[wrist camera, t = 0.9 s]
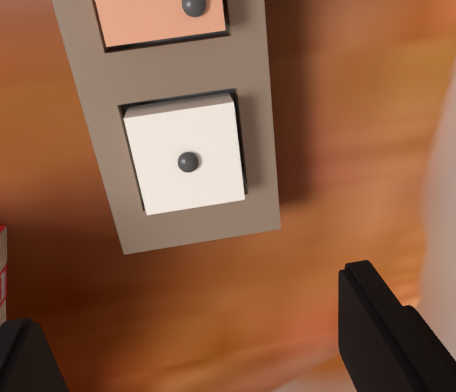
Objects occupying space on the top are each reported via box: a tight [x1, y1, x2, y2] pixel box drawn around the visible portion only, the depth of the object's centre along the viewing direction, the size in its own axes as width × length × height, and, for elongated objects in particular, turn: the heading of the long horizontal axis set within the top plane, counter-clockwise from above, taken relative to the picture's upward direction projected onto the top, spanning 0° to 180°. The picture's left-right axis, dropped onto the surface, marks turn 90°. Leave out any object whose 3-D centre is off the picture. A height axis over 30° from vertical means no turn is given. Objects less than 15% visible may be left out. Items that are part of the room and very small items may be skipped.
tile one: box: [123, 92, 245, 215], centre depth 23 cm, size 6×6×3 cm
